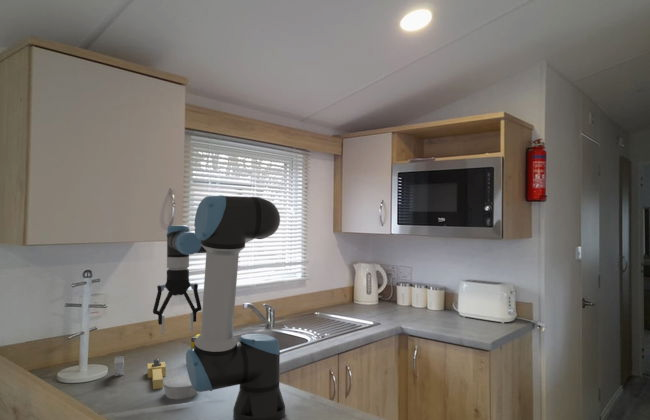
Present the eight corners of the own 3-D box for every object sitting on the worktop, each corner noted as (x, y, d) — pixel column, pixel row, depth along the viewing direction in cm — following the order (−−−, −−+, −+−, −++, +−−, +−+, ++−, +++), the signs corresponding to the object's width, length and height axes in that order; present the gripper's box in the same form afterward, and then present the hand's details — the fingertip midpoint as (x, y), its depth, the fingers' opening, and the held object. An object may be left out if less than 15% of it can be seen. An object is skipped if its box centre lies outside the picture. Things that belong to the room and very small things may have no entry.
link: (147, 372, 168) (147, 363, 168) (164, 370, 170) (164, 361, 170) (148, 389, 151) (148, 379, 151) (167, 387, 153) (167, 377, 154)
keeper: (123, 381, 160) (123, 362, 160) (113, 382, 159) (113, 363, 159) (123, 374, 167) (124, 356, 167) (114, 375, 166) (115, 356, 166)
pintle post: (159, 375, 166) (159, 360, 166) (153, 376, 165) (153, 360, 165) (159, 373, 168) (159, 358, 168) (153, 374, 167) (153, 359, 167)
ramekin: (206, 396, 149) (206, 380, 149) (175, 407, 141) (175, 389, 141) (187, 388, 156) (187, 372, 156) (156, 397, 148) (157, 381, 148)
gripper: (207, 266, 170) (207, 327, 170) (144, 268, 162) (144, 332, 161) (210, 268, 163) (210, 331, 163) (145, 270, 155) (144, 337, 155)
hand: (177, 332), depth 162 cm, fingers open, 9 cm apart
